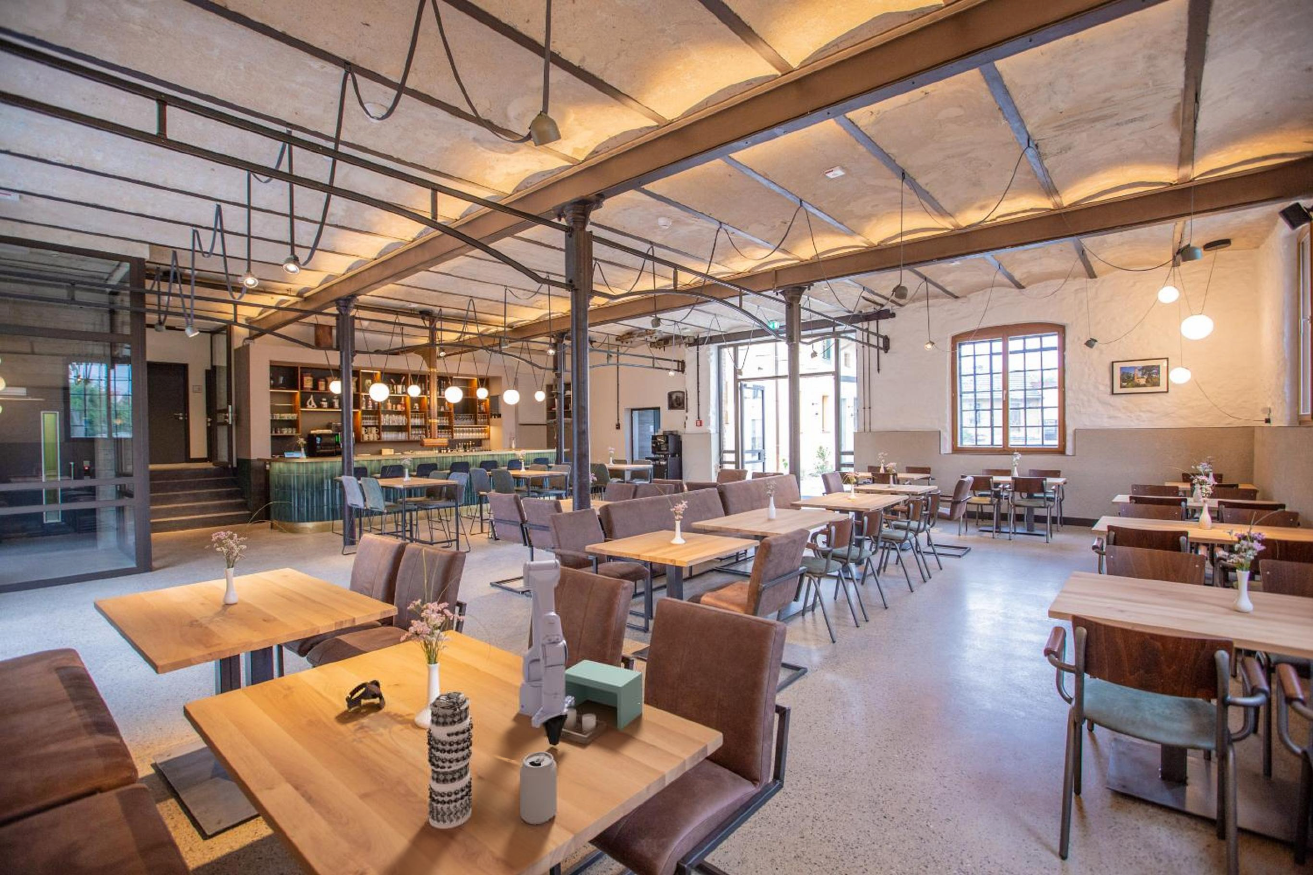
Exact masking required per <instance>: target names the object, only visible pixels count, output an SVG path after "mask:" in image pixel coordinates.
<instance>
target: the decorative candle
mask: <svg viewBox="0 0 1313 875" xmlns="http://www.w3.org/2000/svg"><path fill="white" fill-rule="evenodd" d="M470 704H471V700H470V698H469V697H467V696H465V695H464V693H462V692H459V691H449V692H444V693H442V694H440V695H438V696H437V697H436V698H435V699H434V701H432V702H431V703H430V705H429V707H428V709H429V710H430V721H429V727H428V730H427V731H426V734H427V735H426V737H427V739H426V740H427V742H426V744H427V746H428V748H427V751H428V752H427V754H428V755H427V757H428V758H427V762H428V766H429V767H430V769H431V770H430V773H431V775H430V778H429V779H430V781H429V782H430V783H429V786H428V788H427V789H428V791H429V793H428V794H429V795H428V799H429V801H428V816H429V818H428V820H429V823H430V825H431V826H432V827H434V828H436V829H442V830H443V829H444V830H447V829H452V828H455V827H458V826H460V825H462V824H464V823H465V822H467V821H468V820H469V819H468V818H470V817H471V816H472V810H473V809H472V807H473V805H472V803H473V800H472V799H473V798H472V795H473V793H471V792H472V786H473V785H472V783H473V782H472V779H473V778H472V777H471V769H470V761H472V756H473V755H472V754H473V753H472V749H471V747H472V746H473V740H472V738H473V736H474V735H473V733H472V730H473V729H474V724H473V723H472V719H473V718H472V717H471V714H470Z"/></svg>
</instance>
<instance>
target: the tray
mask: <svg viewBox="0 0 1313 875" xmlns="http://www.w3.org/2000/svg"><path fill="white" fill-rule="evenodd" d="M582 716H583V715H582V714H577V713H576V727H575V728H573V729H565V728H562V732H561V736H560V738H563V739H566V740H569V741H572V742H575V743H578V744H582V745H585V746H587V745H588V744H590V743H591V742H592V741H594V740H595V739H597V737H599V736H600V735H601V734H602V733H604V732H606V730H607V722H606V721H602V720H599V719H596V728H595V729H594V730H593V731H591V732H590V733H589V734H587V735H584V734H583V733H582Z"/></svg>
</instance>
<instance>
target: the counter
mask: <svg viewBox="0 0 1313 875" xmlns="http://www.w3.org/2000/svg"><path fill="white" fill-rule="evenodd" d="M567 696H571V697H574V705H573V706H569V707H568V708H573V709H576V707H578V706H580V705H581V704H582V703H584V702H585V701H590V702H591V701H592V702H594V703H595V702H596V703H599V704H603V705H608V706H610V707H614V708H617V709H616V710H617V711H616V712H617V716H616V717H617V722H616V723H617V727H616V728H617V730H624V728H626V726H628V725H629V724H630V723H632V722H633V721H634V720H636V719H637V718H638V717H639V716H640V715H641V714H643V672H642V671H641V672H640V671H636V670H632V669H629V668H623V667H619V666H615V665H610V664H606V663H603V662H602V663H601V662H597V661H592V660H588V659H583V660H582V661H580V662H577V663H576V664H574V665H572V666H571V667H569V668H568V669H565V697H567ZM638 703H640V704H638ZM568 708H567V709H568Z"/></svg>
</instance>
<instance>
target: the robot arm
mask: <svg viewBox="0 0 1313 875" xmlns="http://www.w3.org/2000/svg"><path fill="white" fill-rule="evenodd" d="M561 571H562V570H561V564H560V561H559V560H558V559H557V558H556V559H549V560H536V561H534V560H533V561H525V562H524V563H523V566H522V578H523V579H522V580H523V581H522V582H523V588H524V589H527V590H529V591H530V594H531V615H532V616H531V617H532V618H531V620H532V622H531V623H532V624H531V625H532V628H531V629H532V646H531V647H530V648H529V649H528V650H527V651H526V652H524V654H523V656H522V680H523V681H522V682H521V683H520V686H519V691H518V694H519V695H518V696H519V697H518V698H519V699H518V702H519V703H518V704H519V706H518V707H519V710H517V713H518V714H522V715H526V716H529V717H532V718H531V727H533V728H537V729H538V728H540V727H541V725H542V726H543V729H544V731H545V733H546V736H547V740H548V744H549V745H551V746H554V747H556V746H557V745H559V743H560V740H561V737H560V736H561V732H562V728H563V726H564V723H565V721H566V720H567V718H568V714H567V713H568V709H567V708H568V707H569V706H573V705H574V697H571V696H567V697H565V670H566V665H567V664H568V658H569V653H568V652H569V651H568V647H567V641H566V639H565V638H566V637H565V636H564V635H563V629H562V623H561V622H562V621H561V617H560V616H559V615H558V614H556V604H555V588H556V587H557V586H558V585H559V581H560V579H561V575H562V574H561Z"/></svg>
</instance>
